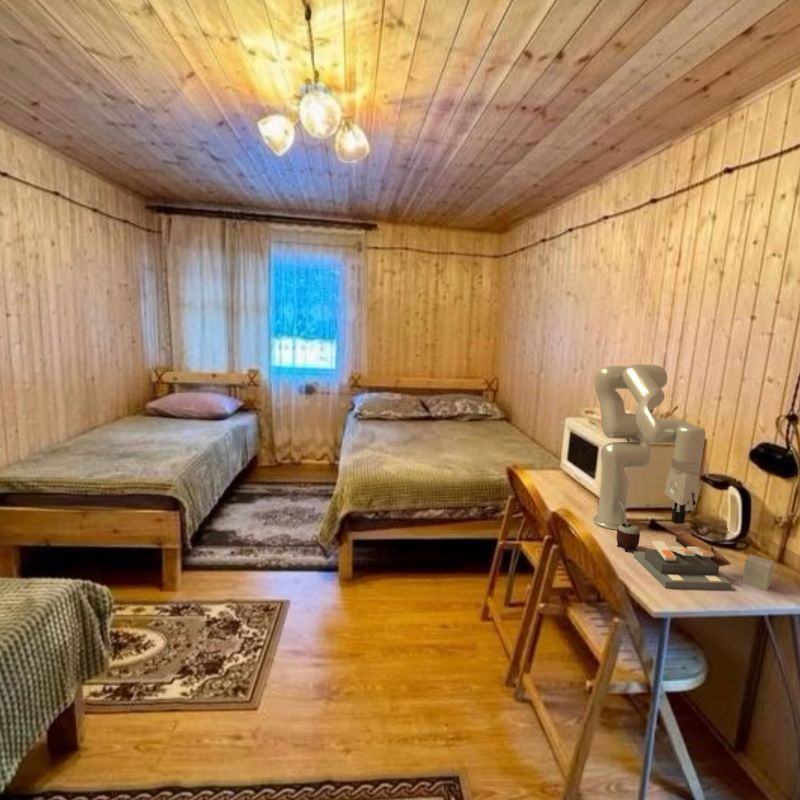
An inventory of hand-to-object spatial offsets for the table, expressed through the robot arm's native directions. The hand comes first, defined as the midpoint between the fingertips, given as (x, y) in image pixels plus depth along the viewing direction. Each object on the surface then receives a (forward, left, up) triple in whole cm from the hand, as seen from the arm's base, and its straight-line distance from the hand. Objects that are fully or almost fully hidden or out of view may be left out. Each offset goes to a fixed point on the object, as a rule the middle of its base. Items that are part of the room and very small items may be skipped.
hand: (677, 522), depth 154 cm
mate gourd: (-13, -9, -15) cm, 22 cm away
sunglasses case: (-11, +16, -15) cm, 25 cm away
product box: (+9, +20, -15) cm, 27 cm away
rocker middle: (+4, 0, -9) cm, 10 cm away
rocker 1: (+3, -5, -9) cm, 11 cm away
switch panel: (+4, 0, -15) cm, 15 cm away
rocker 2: (+4, +6, -9) cm, 11 cm away
